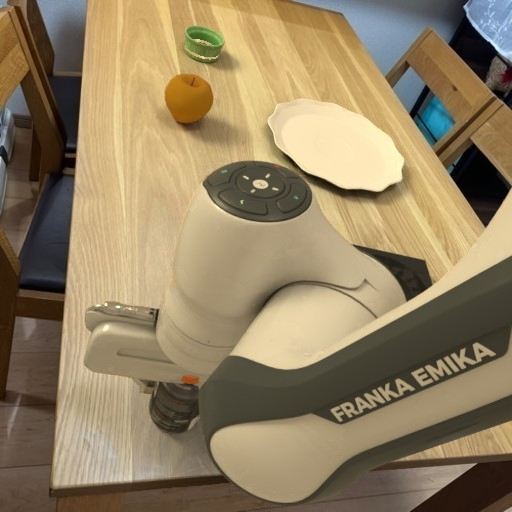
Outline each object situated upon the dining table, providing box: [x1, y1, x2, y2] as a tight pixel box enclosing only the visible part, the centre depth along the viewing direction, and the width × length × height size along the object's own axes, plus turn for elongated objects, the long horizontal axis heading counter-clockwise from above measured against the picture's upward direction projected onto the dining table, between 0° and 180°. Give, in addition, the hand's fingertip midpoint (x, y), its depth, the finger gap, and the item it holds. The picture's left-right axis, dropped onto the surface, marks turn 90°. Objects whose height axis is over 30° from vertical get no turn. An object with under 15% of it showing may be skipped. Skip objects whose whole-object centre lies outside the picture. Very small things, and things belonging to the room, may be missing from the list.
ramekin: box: [183, 25, 226, 63], centre depth 111 cm, size 9×9×4 cm
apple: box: [164, 73, 215, 124], centre depth 90 cm, size 9×9×9 cm
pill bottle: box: [148, 375, 200, 434], centre depth 51 cm, size 6×6×11 cm
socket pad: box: [351, 243, 434, 301], centre depth 76 cm, size 16×16×3 cm
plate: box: [266, 97, 406, 193], centre depth 101 cm, size 29×29×2 cm
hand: (181, 392), depth 53 cm, fingers closed on pill bottle, 6 cm apart
